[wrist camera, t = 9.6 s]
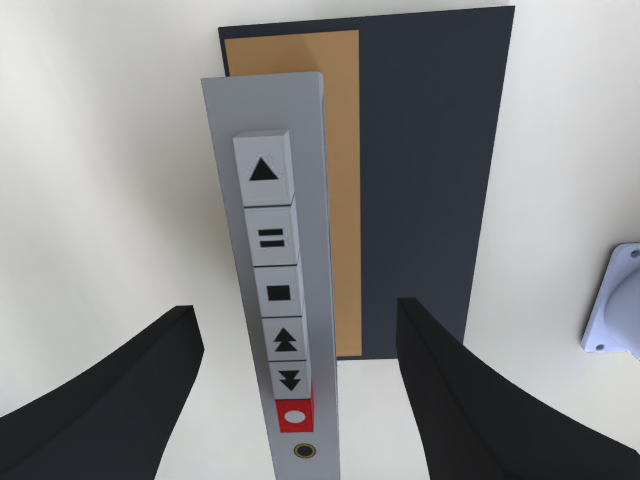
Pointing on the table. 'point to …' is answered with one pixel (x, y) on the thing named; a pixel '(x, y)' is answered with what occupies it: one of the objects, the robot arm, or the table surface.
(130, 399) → the robot arm
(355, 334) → the desk mat
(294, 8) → the table surface
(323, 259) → the cassette player
